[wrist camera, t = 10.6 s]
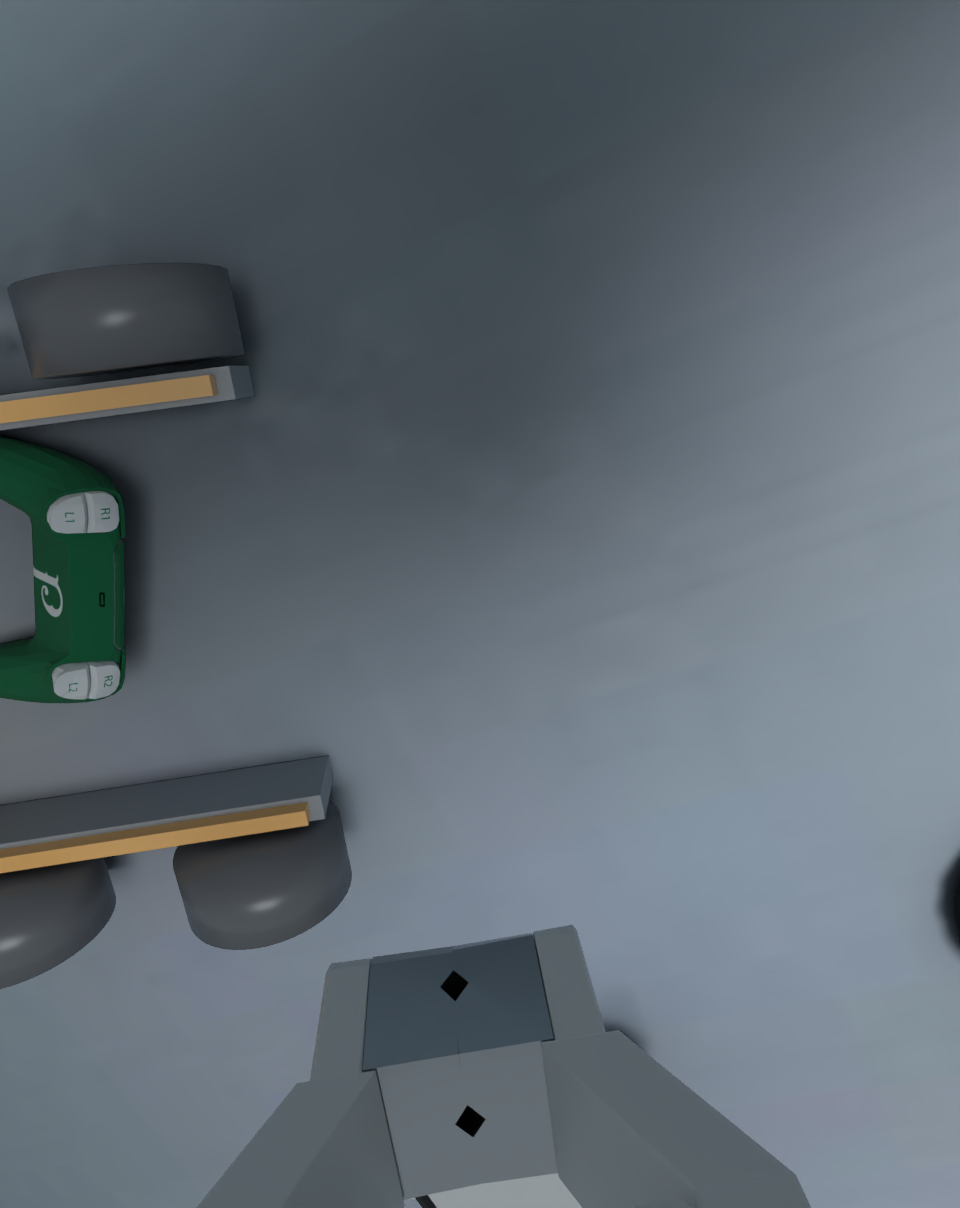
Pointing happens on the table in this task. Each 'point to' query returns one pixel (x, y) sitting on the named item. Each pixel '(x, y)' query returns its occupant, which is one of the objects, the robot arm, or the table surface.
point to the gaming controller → (67, 578)
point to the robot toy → (506, 1195)
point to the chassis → (179, 806)
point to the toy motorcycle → (957, 910)
